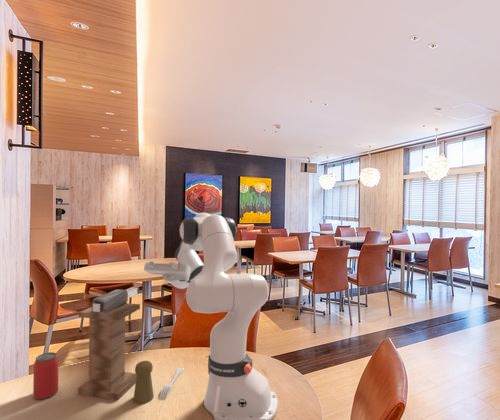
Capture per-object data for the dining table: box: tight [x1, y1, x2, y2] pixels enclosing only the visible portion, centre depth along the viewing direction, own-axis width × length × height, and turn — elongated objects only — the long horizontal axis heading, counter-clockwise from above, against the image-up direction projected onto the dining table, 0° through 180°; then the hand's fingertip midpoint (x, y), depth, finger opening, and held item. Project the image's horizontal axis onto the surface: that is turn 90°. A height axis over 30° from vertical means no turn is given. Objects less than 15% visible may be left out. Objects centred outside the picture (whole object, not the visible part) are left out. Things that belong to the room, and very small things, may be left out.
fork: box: [158, 367, 185, 402], centre depth 106 cm, size 3×21×3 cm, turn 175°
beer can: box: [32, 351, 59, 400], centre depth 99 cm, size 7×7×12 cm
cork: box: [132, 360, 154, 405], centre depth 97 cm, size 6×6×11 cm
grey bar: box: [93, 286, 140, 312], centre depth 107 cm, size 2×22×2 cm, turn 168°
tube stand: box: [77, 289, 141, 401], centre depth 103 cm, size 14×12×31 cm
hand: (160, 263), depth 133 cm, fingers open, 8 cm apart
